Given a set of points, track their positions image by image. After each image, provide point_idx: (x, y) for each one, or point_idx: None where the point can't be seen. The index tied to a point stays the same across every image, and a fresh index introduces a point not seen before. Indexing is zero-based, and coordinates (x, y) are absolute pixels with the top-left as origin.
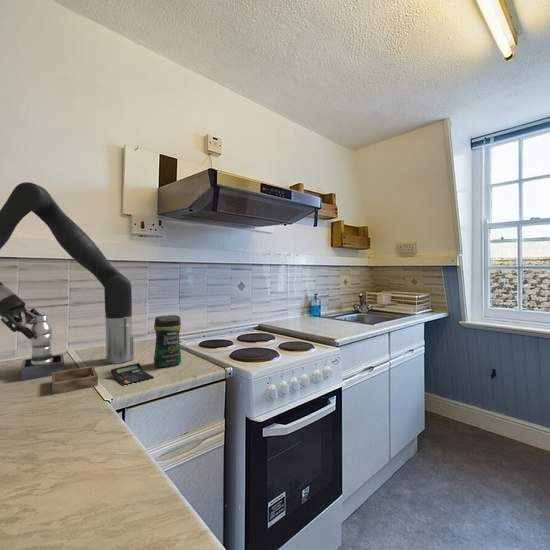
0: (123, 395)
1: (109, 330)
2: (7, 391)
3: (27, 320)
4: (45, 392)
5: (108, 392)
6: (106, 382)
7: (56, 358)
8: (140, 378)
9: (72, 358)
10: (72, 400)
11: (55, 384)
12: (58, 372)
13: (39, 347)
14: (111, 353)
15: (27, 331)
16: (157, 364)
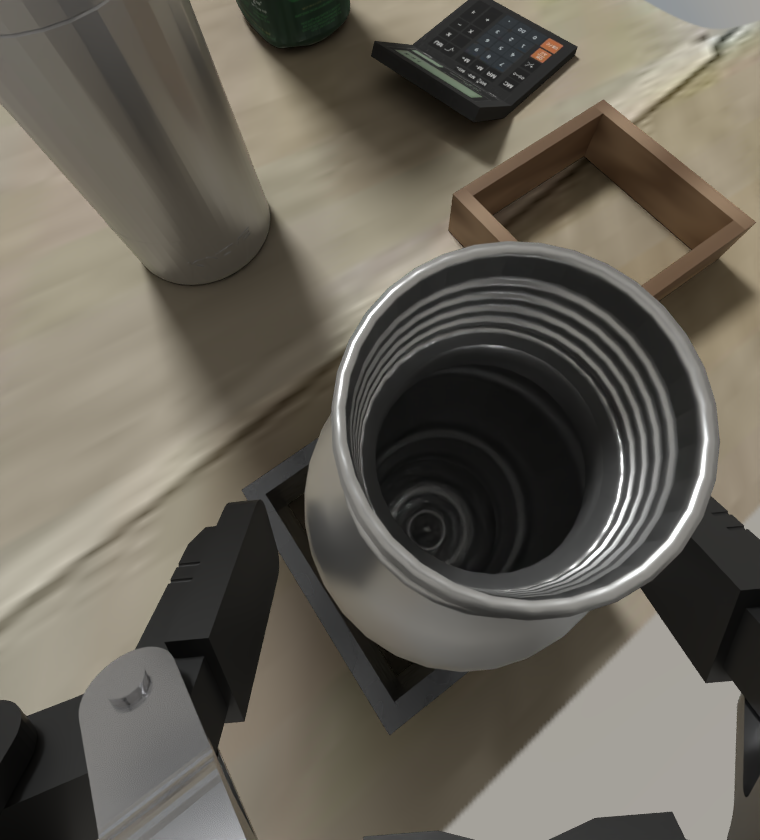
0: (662, 22)
1: (166, 19)
2: (738, 506)
3: (625, 819)
4: (703, 304)
5: (646, 76)
6: (542, 131)
7: (285, 518)
8: (502, 23)
9: (122, 529)
10: (751, 150)
11: (741, 216)
12: None
13: (511, 482)
14: (248, 186)
15: (744, 534)
16: (345, 9)
